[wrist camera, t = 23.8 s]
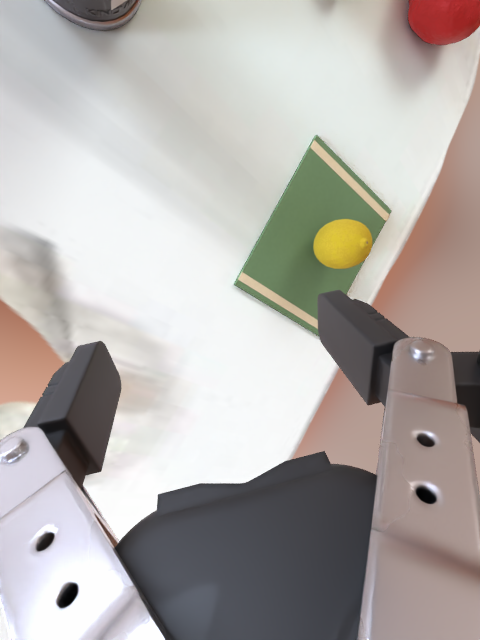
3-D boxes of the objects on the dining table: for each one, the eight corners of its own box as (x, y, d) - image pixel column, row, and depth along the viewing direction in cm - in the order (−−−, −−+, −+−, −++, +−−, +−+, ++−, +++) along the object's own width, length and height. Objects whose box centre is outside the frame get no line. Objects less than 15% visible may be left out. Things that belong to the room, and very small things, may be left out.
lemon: (344, 246, 39) (395, 244, 32) (317, 276, 38) (363, 281, 31) (321, 213, 37) (371, 202, 30) (292, 244, 36) (336, 241, 29)
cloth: (233, 284, 35) (235, 284, 34) (314, 136, 35) (317, 134, 35) (320, 337, 41) (322, 338, 41) (389, 211, 41) (392, 210, 41)
